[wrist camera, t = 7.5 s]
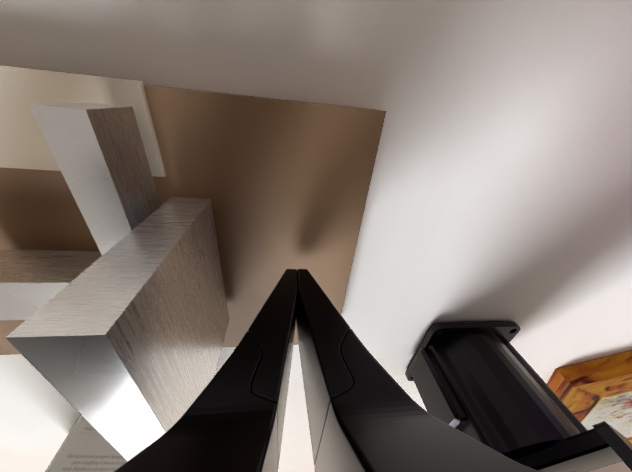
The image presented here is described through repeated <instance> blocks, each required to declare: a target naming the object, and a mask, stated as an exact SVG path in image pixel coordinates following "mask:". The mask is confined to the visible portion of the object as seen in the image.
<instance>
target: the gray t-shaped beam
mask: <svg viewBox="0 0 632 472" xmlns="http://www.w3.org/2000/svg"><path fill="white" fill-rule="evenodd" d="M29 107H30V109H31V111H32V113H33V115H34V117H35V119H36V121H37V123H38V125H39V127H40V129H41V131H42V133H43V135H44V137H45V139H46V141H47V144H48V146H49V148H50V150H51V152H52V154H53V156H54V158H55V160H56V162H57V164H58V166H59V168H60V170H61V172H62V174H63V176H64V178H65V180H66V183H67V185H68V187H69V189H70V191H71V193H72V195H73V197H74V199H75V201H76V203H77V205H78V207H79V209H80V211H81V213H82V215H83V217H84V220H85V222H86V224H87V226H88V228H89V230H90V232H91V234H92V236H93V238H94V240H95V242H96V244H97V246H98V248H99V250H100V251H53V250H0V320H25V321H24V322H23V323H22V324H21V325H19V326H18V327H17V328H16V329H15V330H14V331H12V332H11V333H10V334H9V335H8V336H6V337H5V338H6V339H7V340H8V341H9V342H10V343H11V344H12V345H13V346H14V347H15V348H16V349H17V350H18V351H19V352H20V353H21V354H22V355H23V356H24V357H25V358H26V359H27V360H28V361H29V362H30V363H31V364H32V365H33V366H34V367H35V368H36V369H37V370H38V371H39V372H40V373H41V374H42V375H43V376H44V377H45V378H46V379H47V380H48V381H49V382H50V383H51V384H52V385H53V386H54V387H55V388H56V389H57V390H58V391H59V392H60V393H61V394H62V395H63V396H64V398H65V399H66V400H67V401H68V402H69V403H70V404H71V405H72V406H73V407H74V408H75V409H76V410H77V411H78V412H79V413H80V414H81V415H82V416H83V417H84V418H85V419H86V420H87V421H88V422H89V423H90V424H91V425H92V426H93V427H94V428H95V429H96V430H97V431H98V432H99V433H100V434H101V435H102V436H103V437H104V438H105V439H106V440H107V441H108V442H109V443H110V444H111V445H112V446H113V447H114V448H115V449H116V450H117V451H118V452H119V453H120V454H121V455H122V456H123V457H124V458H125V459H126V460H127V461H129V460H130V459H131V458H133V457H134V456H136V455H137V454H138V453H140V452H141V451H142V450H144V449H145V448H146V447H148V446H149V445H150V444H152V443H153V442H154V441H156V440H157V439H158V438H160V437H161V436H162V435H163V434H165V433H166V432H167V431H168V430H169V429H170V428H171V427H172V426H173V425H174V424H175V423H176V422H177V421H178V420H179V419H180V418H181V417H182V416H183V414H184V413H185V412H186V411H187V410H188V408H189V407H190V406H191V405H192V403H193V402H194V401H195V400H196V399H197V397H198V396H199V395H200V394H201V392H202V391H203V390H204V389H205V387H206V386H207V385H208V384H209V382H210V381H211V380H212V379H213V377H214V375H215V371H216V368H217V364H218V360H219V357H220V353H221V349H222V346H223V342H224V338H225V335H226V331H227V327H228V323H229V314H228V307H227V301H226V294H225V288H224V282H223V275H222V269H221V262H220V256H219V250H218V243H217V237H216V230H215V224H214V218H213V211H212V205H211V199H199V198H179V197H171V198H170V199H169V200H167V201H166V202H165V203H164V204H163V205H161V206H160V202H159V199H158V195H157V192H156V188H155V185H154V181H153V178H152V174H151V170H150V167H149V163H148V160H147V156H146V153H145V149H144V146H143V142H142V139H141V135H140V132H139V128H138V124H137V121H136V117H135V114H134V110H133V107H131V106H120V105H110V104H99V103H56V104H29Z"/></svg>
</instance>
